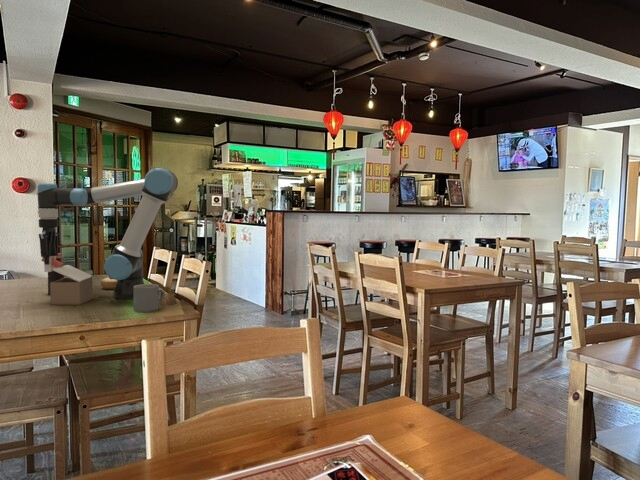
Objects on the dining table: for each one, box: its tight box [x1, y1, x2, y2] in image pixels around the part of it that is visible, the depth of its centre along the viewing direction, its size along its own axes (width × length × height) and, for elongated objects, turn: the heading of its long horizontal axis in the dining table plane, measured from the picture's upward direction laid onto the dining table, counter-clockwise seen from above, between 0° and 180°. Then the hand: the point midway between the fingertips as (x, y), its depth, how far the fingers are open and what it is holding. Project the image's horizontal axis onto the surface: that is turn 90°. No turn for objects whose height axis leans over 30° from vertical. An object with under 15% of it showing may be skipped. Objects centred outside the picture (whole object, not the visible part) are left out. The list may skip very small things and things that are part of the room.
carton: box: [50, 277, 93, 306], centre depth 203 cm, size 12×14×10 cm
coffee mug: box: [133, 283, 166, 313], centre depth 191 cm, size 13×10×10 cm
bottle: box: [47, 252, 65, 296], centre depth 219 cm, size 7×7×20 cm
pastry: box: [100, 276, 117, 291], centre depth 238 cm, size 12×12×9 cm
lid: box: [41, 257, 93, 282], centre depth 202 cm, size 20×14×2 cm
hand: (50, 270), depth 201 cm, fingers closed on lid, 3 cm apart
